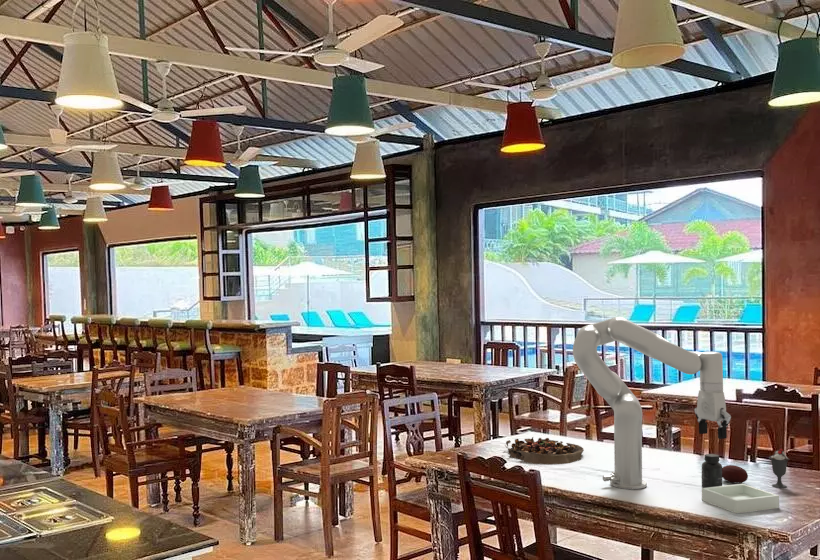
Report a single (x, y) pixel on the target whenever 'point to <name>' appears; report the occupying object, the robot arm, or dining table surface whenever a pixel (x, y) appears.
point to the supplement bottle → (711, 471)
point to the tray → (740, 498)
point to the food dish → (544, 451)
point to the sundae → (779, 466)
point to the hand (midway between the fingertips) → (712, 436)
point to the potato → (734, 474)
